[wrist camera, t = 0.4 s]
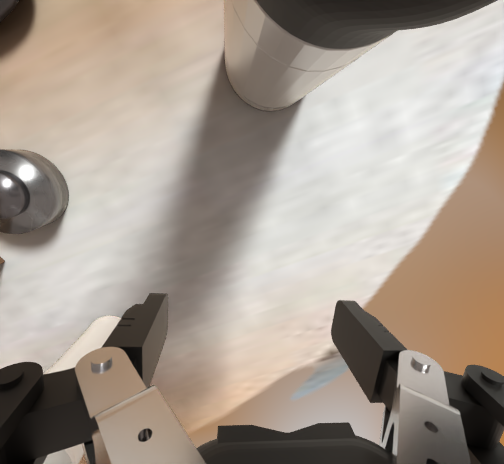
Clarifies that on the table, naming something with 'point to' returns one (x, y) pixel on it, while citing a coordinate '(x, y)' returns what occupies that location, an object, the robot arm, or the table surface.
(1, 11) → the casserole
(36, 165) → the round knob
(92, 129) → the table surface
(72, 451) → the white tapered cylinder
